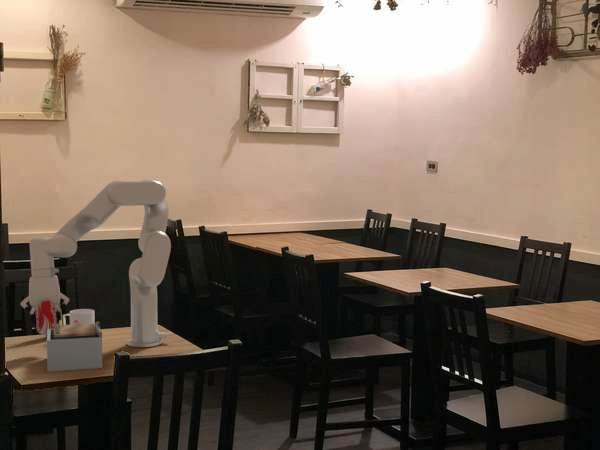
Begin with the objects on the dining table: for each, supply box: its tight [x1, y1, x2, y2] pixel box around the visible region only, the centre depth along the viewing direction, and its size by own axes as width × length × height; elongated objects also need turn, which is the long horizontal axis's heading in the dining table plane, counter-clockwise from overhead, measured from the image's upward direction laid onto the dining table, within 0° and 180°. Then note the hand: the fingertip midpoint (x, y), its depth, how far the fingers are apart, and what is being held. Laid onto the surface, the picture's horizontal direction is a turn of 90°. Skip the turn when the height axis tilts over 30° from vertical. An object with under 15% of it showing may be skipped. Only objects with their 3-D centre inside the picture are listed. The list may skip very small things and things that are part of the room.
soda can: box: [35, 300, 57, 336], centre depth 275 cm, size 7×7×12 cm
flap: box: [54, 323, 96, 337], centre depth 263 cm, size 13×15×1 cm
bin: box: [46, 321, 104, 373], centre depth 263 cm, size 17×18×12 cm
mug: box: [61, 308, 96, 325], centre depth 296 cm, size 12×9×11 cm
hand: (46, 323), depth 275 cm, fingers closed on soda can, 7 cm apart
